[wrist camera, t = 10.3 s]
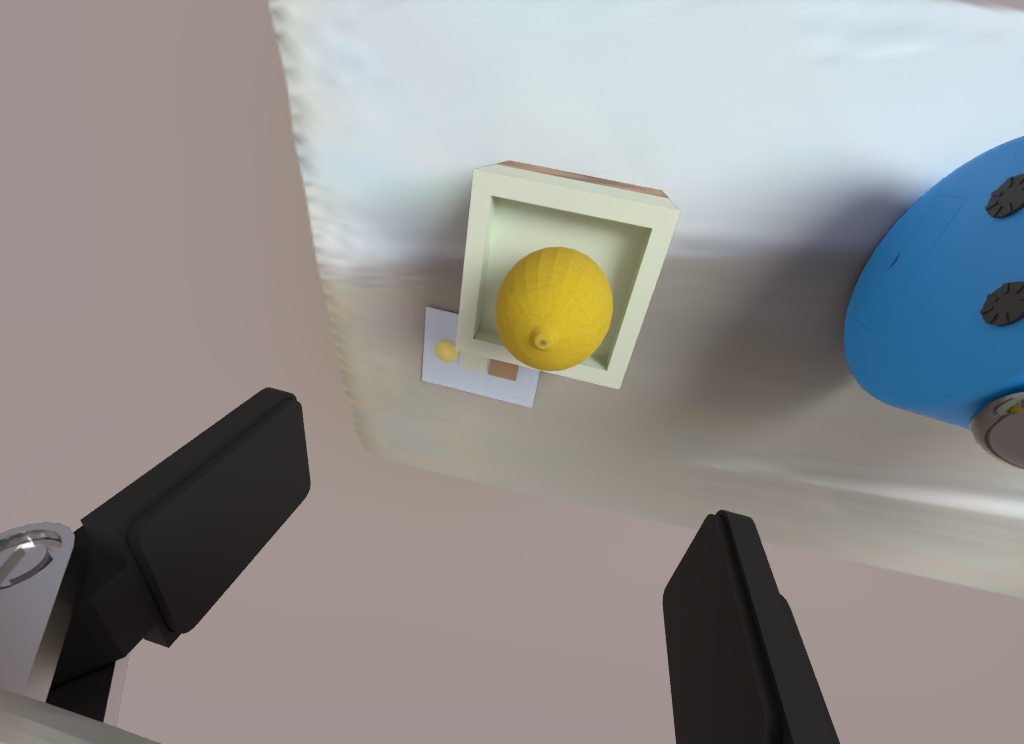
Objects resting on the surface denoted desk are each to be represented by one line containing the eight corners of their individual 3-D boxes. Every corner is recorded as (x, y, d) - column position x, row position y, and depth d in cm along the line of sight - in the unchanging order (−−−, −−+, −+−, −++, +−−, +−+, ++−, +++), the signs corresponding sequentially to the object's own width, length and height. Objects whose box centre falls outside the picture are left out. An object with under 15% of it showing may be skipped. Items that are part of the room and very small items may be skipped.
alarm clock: (895, 364, 29) (1119, 543, 16) (805, 337, 30) (956, 493, 17) (1066, 156, 22) (1675, 183, 10) (948, 125, 23) (1383, 111, 10)
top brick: (669, 198, 24) (681, 211, 20) (618, 355, 29) (619, 389, 25) (495, 163, 24) (473, 169, 21) (475, 321, 30) (455, 349, 26)
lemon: (528, 336, 26) (499, 408, 19) (502, 246, 24) (457, 292, 17) (620, 318, 24) (625, 390, 17) (602, 220, 22) (598, 258, 15)
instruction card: (548, 334, 33) (547, 336, 33) (532, 406, 37) (531, 408, 37) (427, 306, 34) (425, 307, 34) (422, 379, 38) (421, 380, 37)
